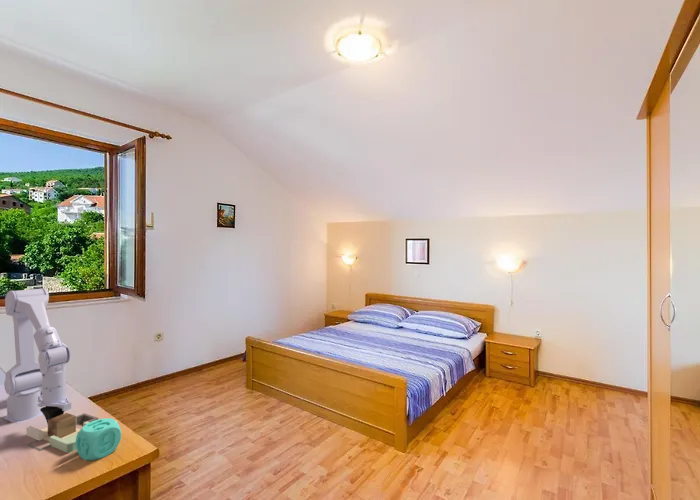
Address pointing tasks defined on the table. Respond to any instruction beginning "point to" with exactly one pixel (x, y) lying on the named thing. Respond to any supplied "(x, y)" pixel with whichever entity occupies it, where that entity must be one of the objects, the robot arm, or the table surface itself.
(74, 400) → the table surface
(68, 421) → the walnut cube
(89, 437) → the decorative dice
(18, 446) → the table surface
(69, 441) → the tray
